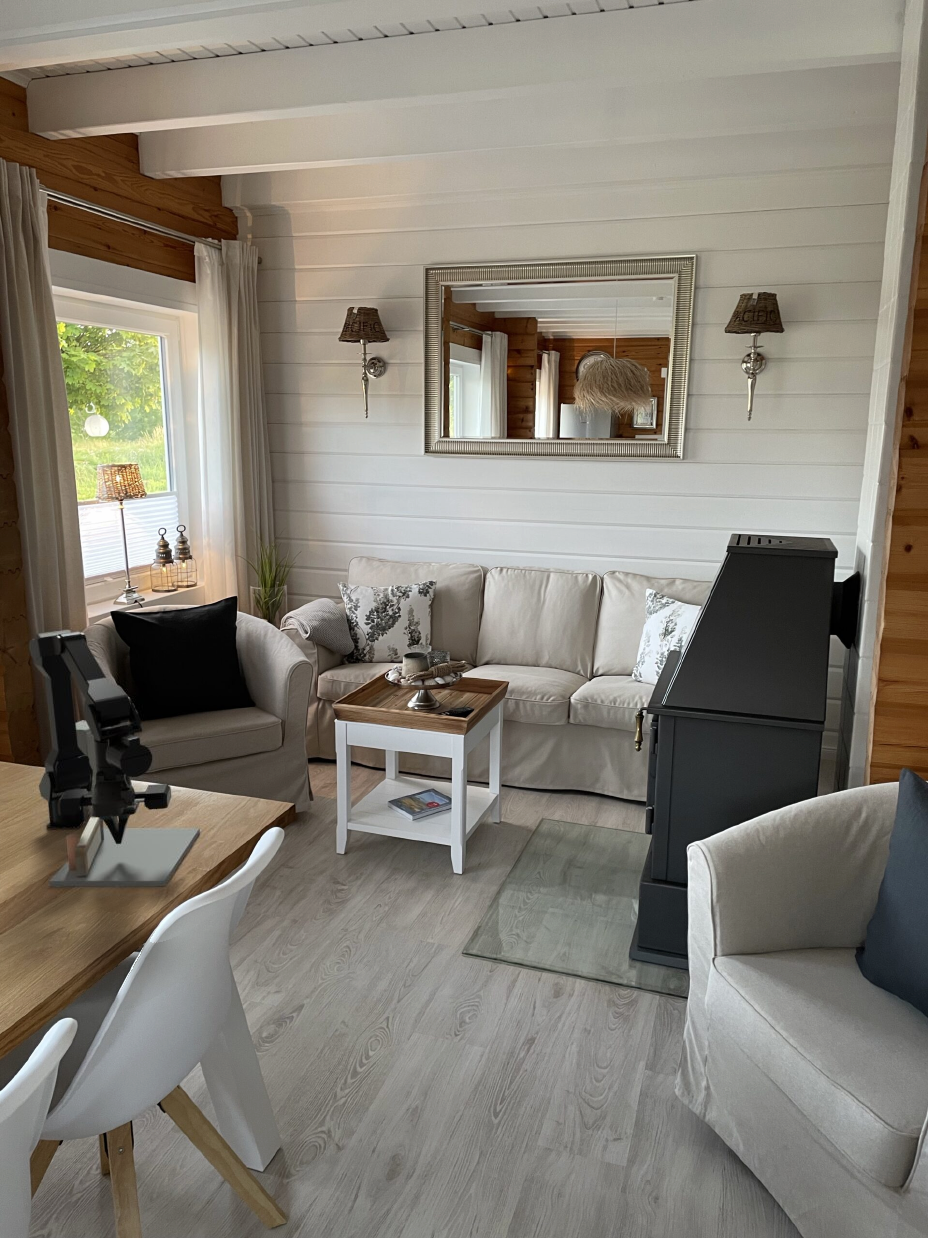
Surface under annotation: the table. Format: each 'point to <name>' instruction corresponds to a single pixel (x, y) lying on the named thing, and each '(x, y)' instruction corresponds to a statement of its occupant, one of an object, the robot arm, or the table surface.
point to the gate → (87, 846)
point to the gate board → (130, 858)
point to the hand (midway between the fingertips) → (119, 843)
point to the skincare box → (87, 747)
